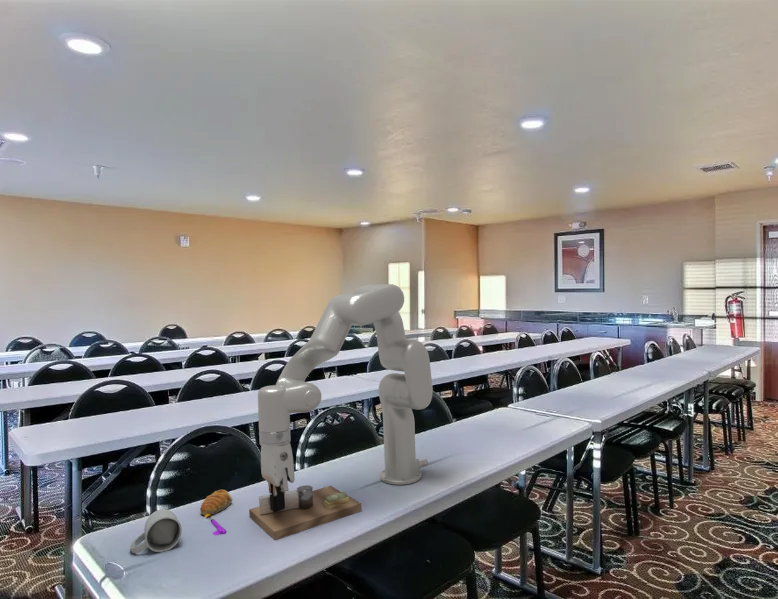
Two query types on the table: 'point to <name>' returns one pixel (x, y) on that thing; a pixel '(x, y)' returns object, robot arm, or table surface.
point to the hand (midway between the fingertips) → (277, 509)
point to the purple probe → (219, 529)
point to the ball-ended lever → (290, 500)
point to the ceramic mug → (158, 532)
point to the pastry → (216, 502)
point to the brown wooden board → (307, 513)
